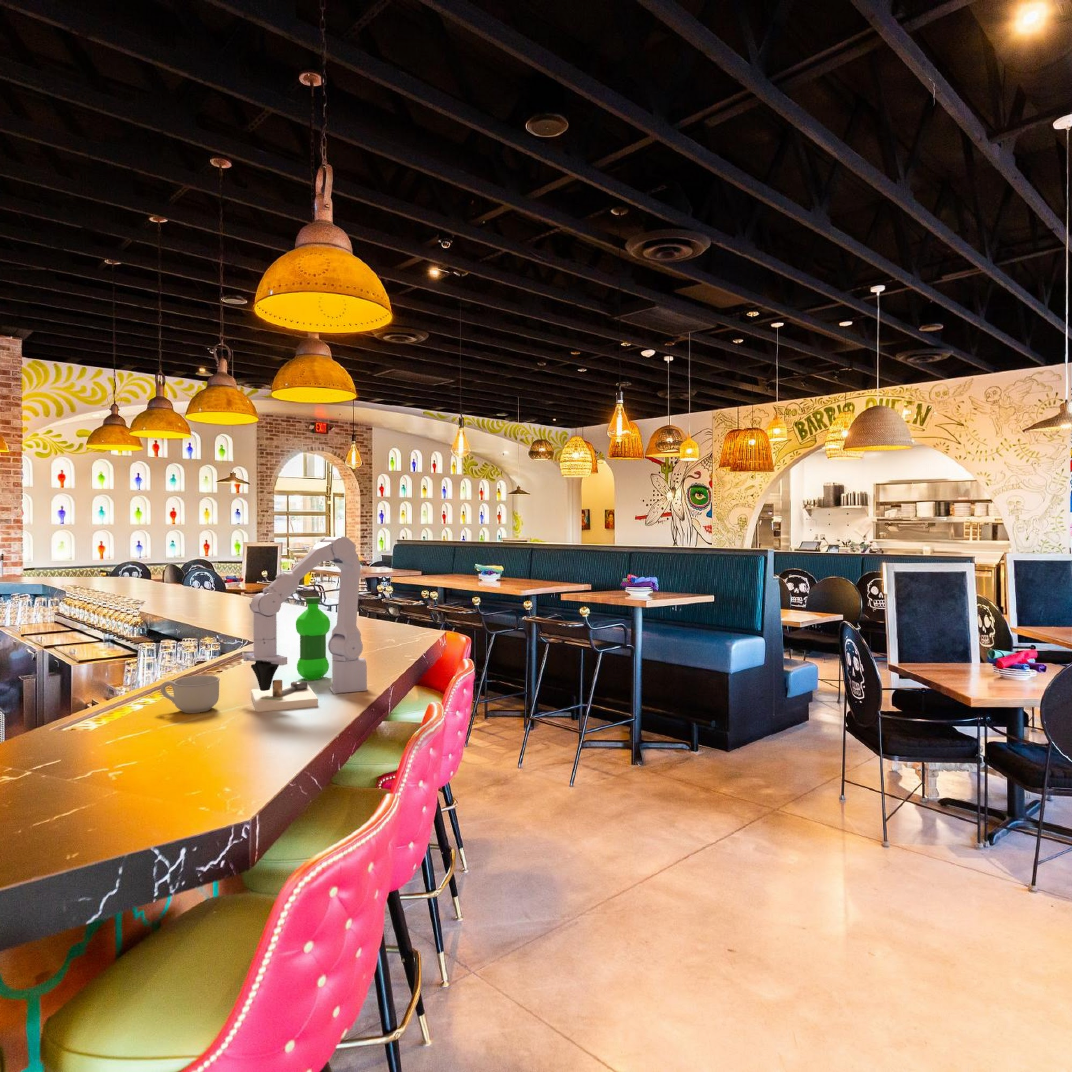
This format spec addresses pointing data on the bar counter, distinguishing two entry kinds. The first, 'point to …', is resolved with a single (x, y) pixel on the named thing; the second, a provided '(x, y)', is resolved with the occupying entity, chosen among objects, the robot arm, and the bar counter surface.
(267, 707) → the board
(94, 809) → the bar counter surface
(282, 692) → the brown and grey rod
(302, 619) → the plastic bottle
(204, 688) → the teacup
